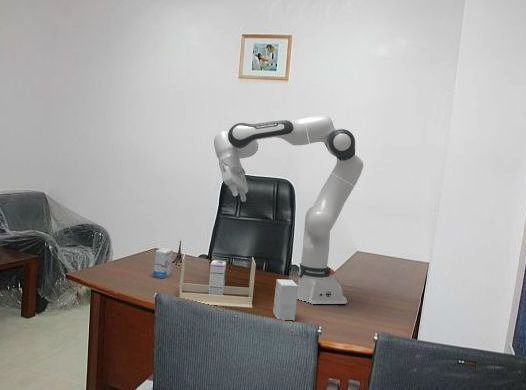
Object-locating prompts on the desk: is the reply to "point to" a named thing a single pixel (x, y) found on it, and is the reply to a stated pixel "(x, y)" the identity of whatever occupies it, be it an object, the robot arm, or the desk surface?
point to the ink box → (162, 262)
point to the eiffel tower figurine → (178, 256)
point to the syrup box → (217, 277)
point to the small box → (285, 299)
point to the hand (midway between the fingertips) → (239, 198)
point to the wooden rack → (219, 299)
